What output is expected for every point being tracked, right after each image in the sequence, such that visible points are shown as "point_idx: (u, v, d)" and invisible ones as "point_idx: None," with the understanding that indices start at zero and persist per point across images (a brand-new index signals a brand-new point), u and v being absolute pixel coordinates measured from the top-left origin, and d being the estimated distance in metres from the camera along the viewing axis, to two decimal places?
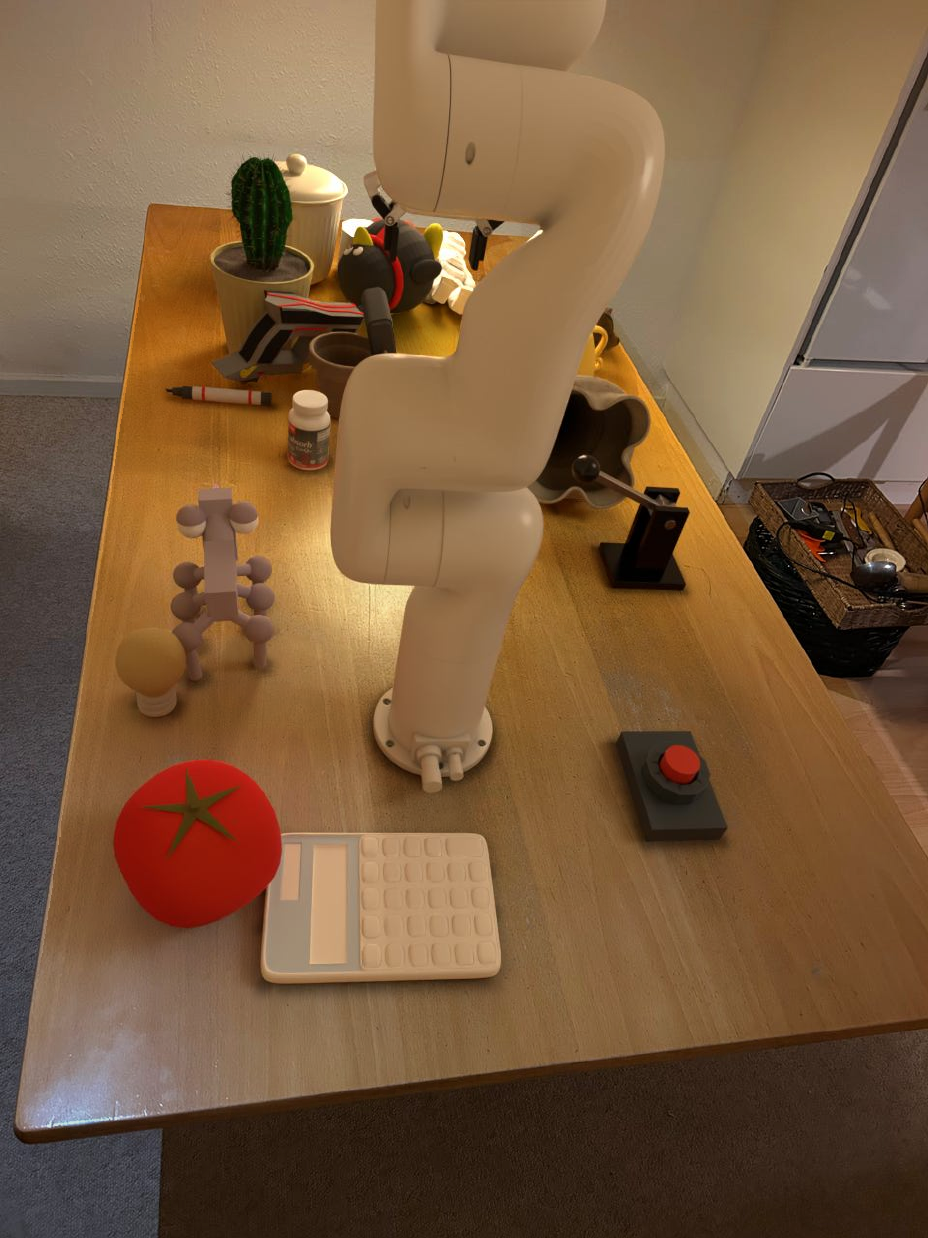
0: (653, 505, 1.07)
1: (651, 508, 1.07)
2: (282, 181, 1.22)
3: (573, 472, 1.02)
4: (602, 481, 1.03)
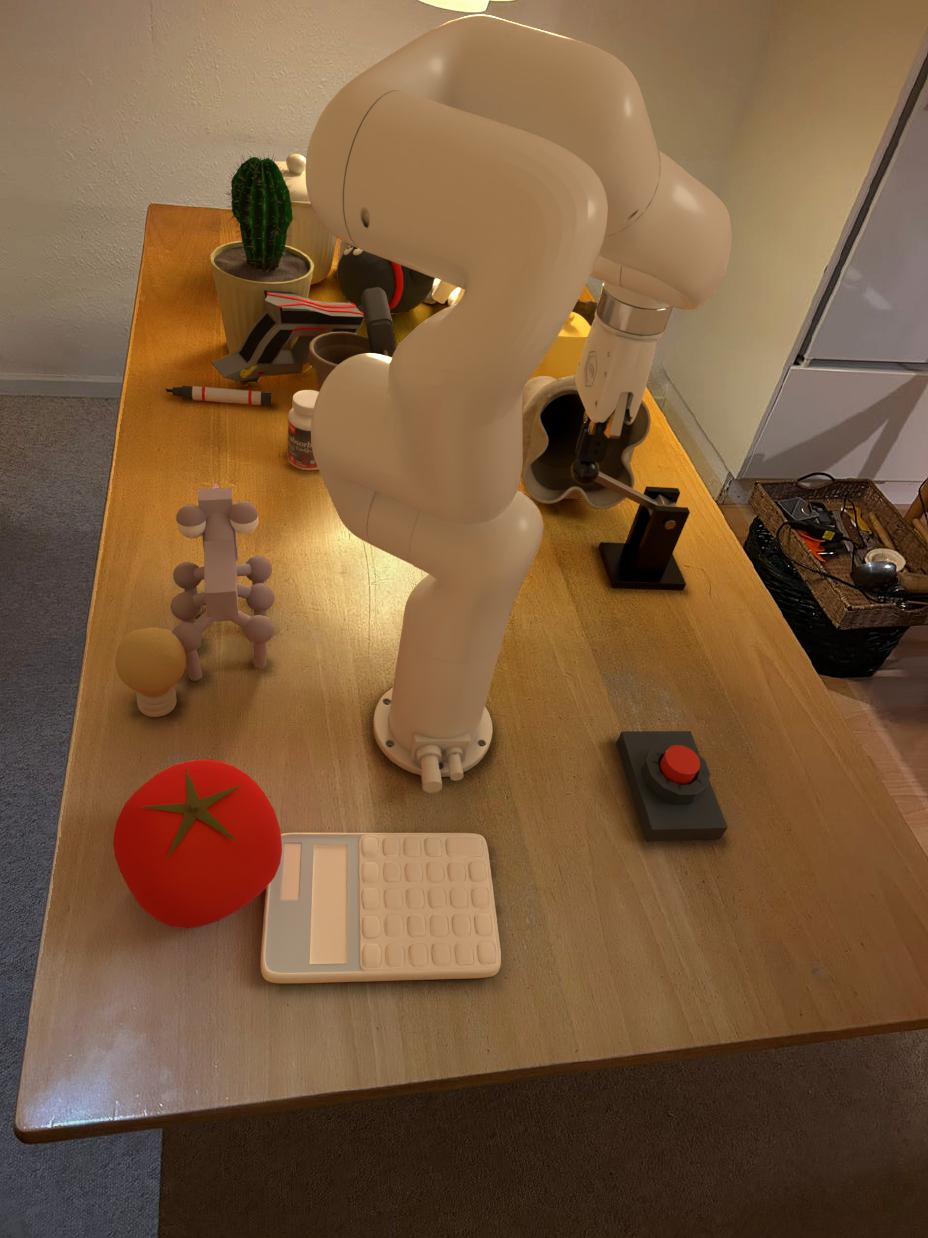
0: (653, 505, 1.07)
1: (651, 508, 1.07)
2: (282, 181, 1.22)
3: (572, 474, 1.02)
4: (601, 482, 1.03)
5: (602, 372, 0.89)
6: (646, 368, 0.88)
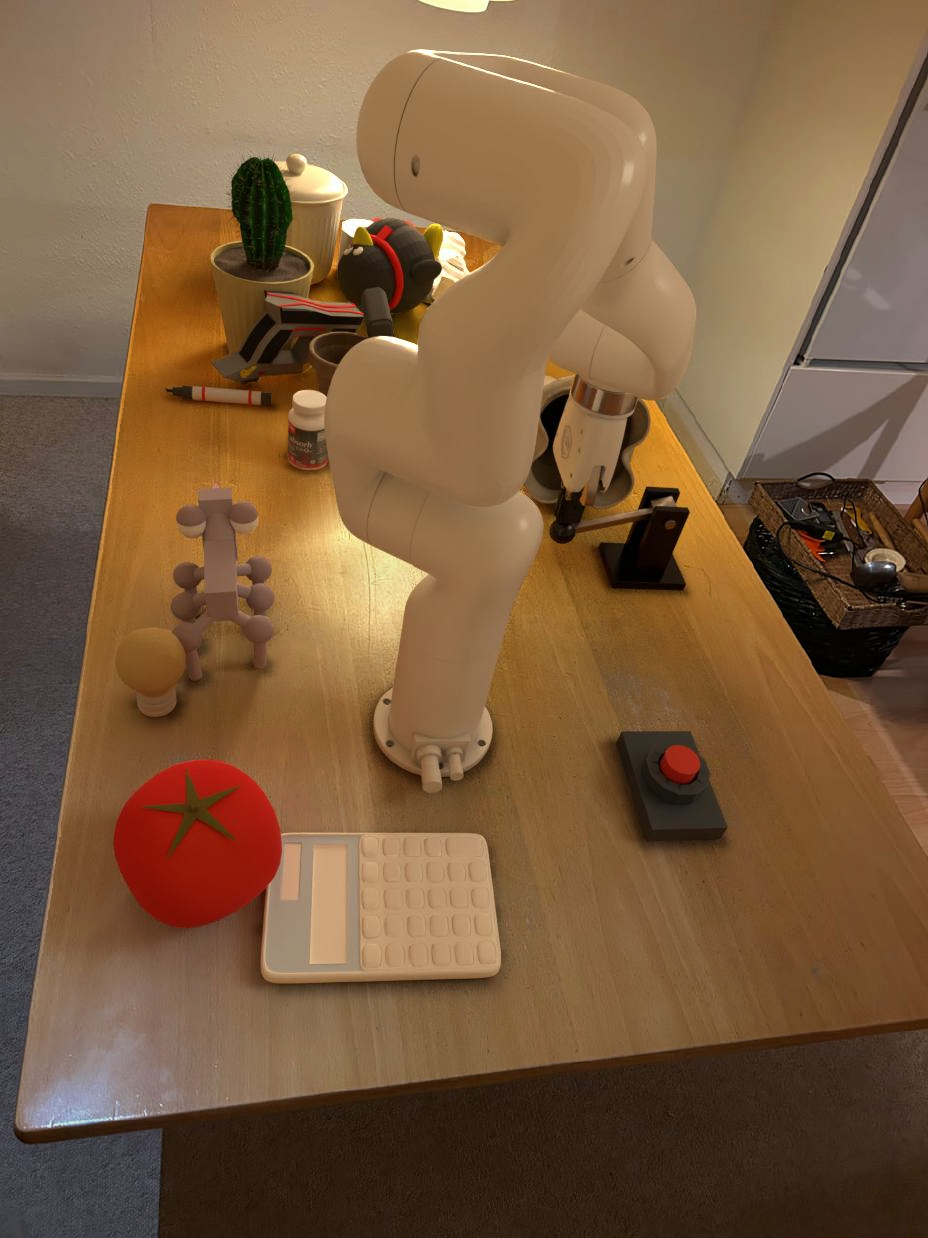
0: (647, 515, 1.08)
1: (648, 518, 1.08)
2: (282, 181, 1.22)
3: (553, 540, 1.09)
4: (583, 530, 1.08)
5: (576, 447, 0.96)
6: (617, 444, 0.95)
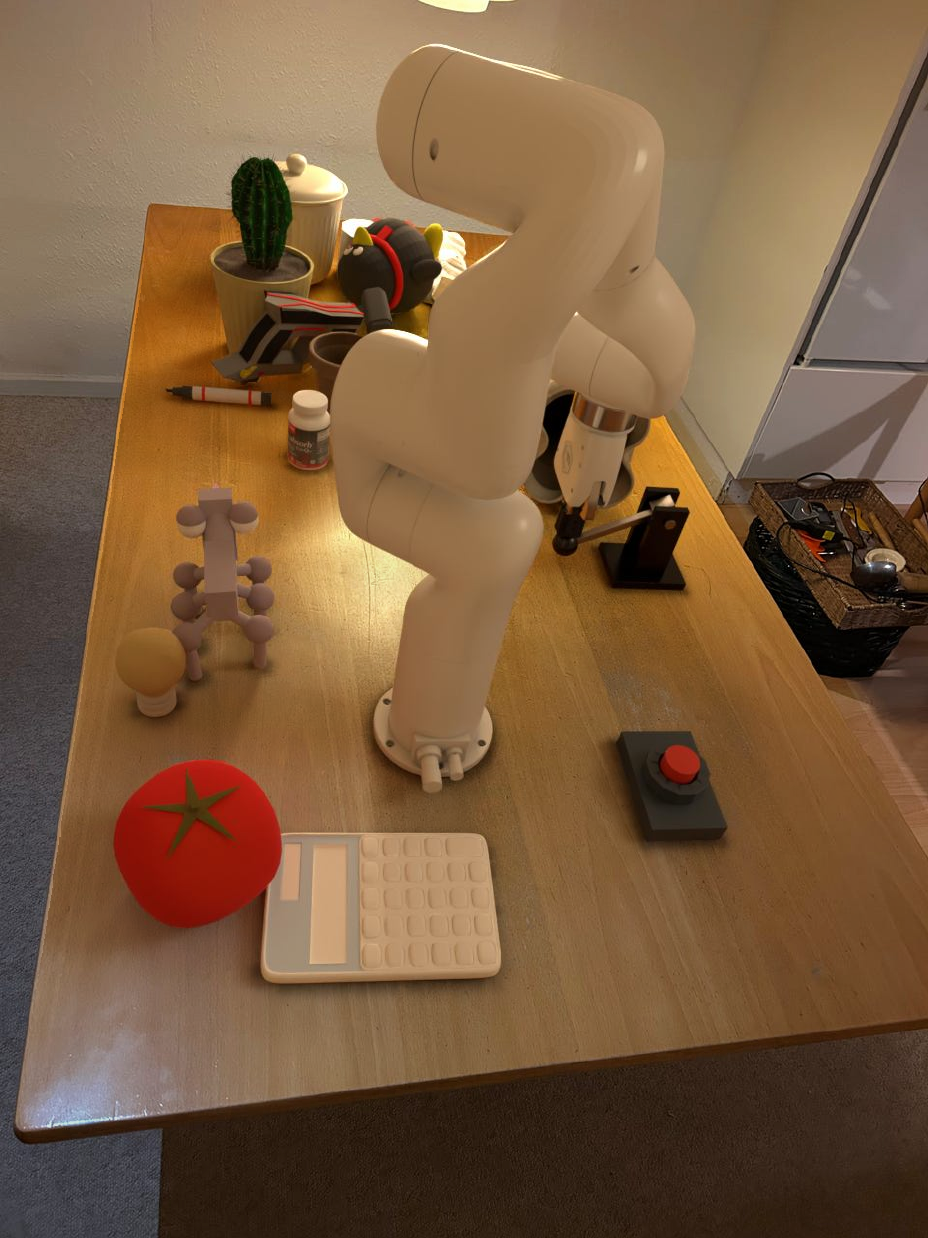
0: (647, 517, 1.08)
1: (649, 519, 1.08)
2: (282, 181, 1.22)
3: None
4: (586, 540, 1.10)
5: (577, 462, 0.97)
6: (617, 460, 0.96)
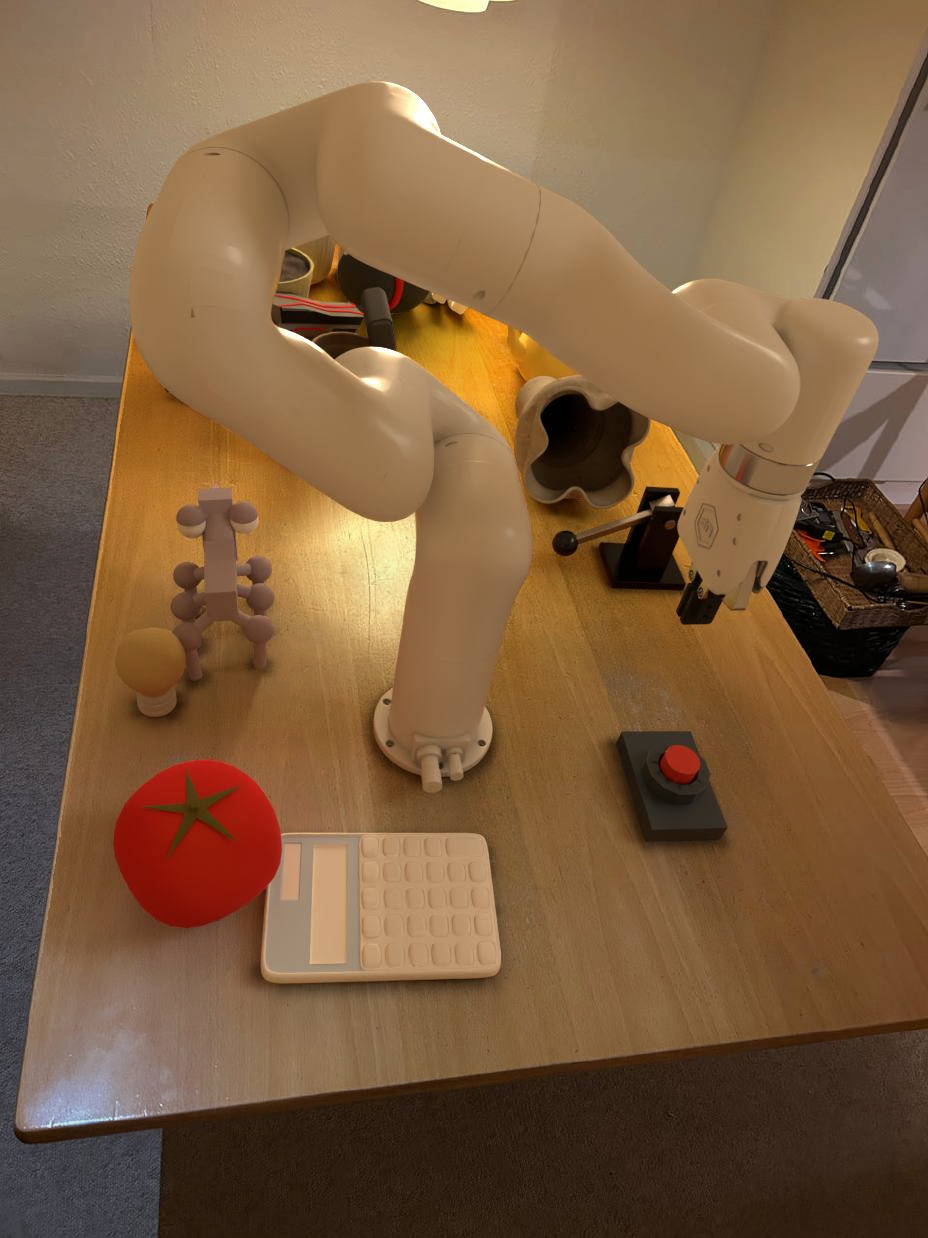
0: (647, 517, 1.08)
1: (649, 519, 1.08)
2: None
3: None
4: (586, 540, 1.10)
5: (729, 536, 0.70)
6: (787, 533, 0.69)
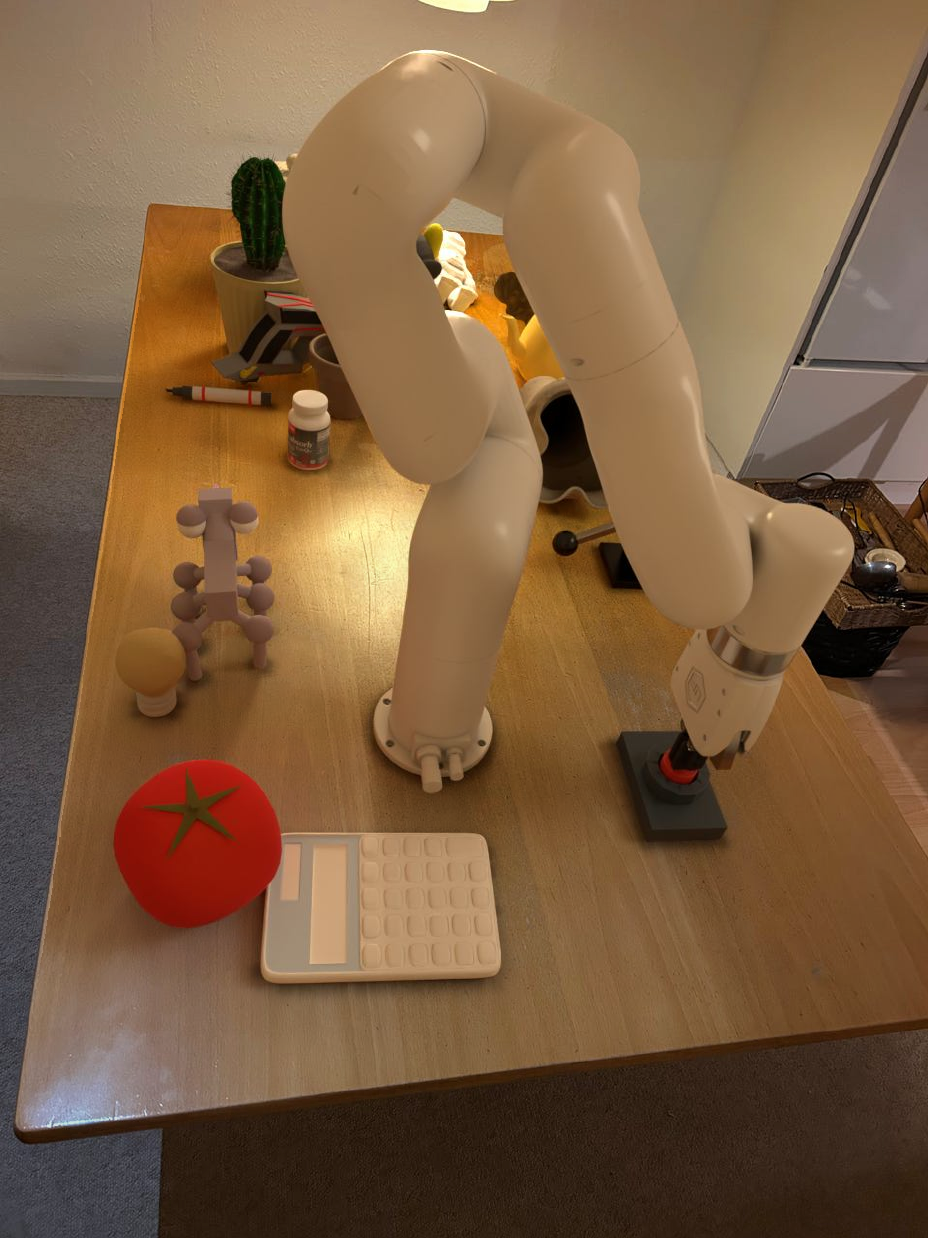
0: None
1: None
2: (282, 181, 1.22)
3: None
4: (586, 540, 1.10)
5: (714, 707, 0.74)
6: (769, 708, 0.73)
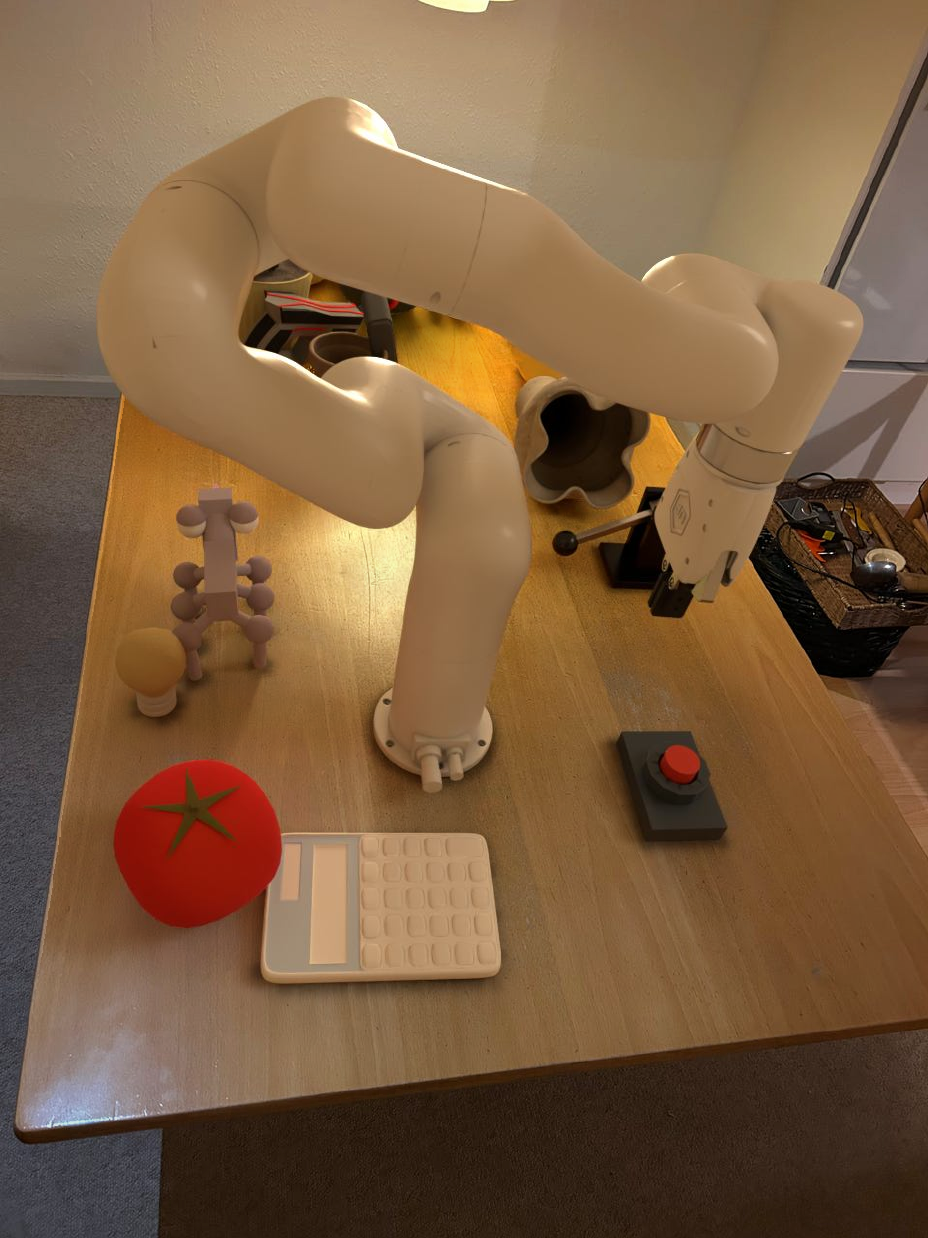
0: (647, 517, 1.08)
1: (649, 519, 1.08)
2: None
3: None
4: (586, 540, 1.10)
5: (699, 523, 0.68)
6: (759, 523, 0.67)
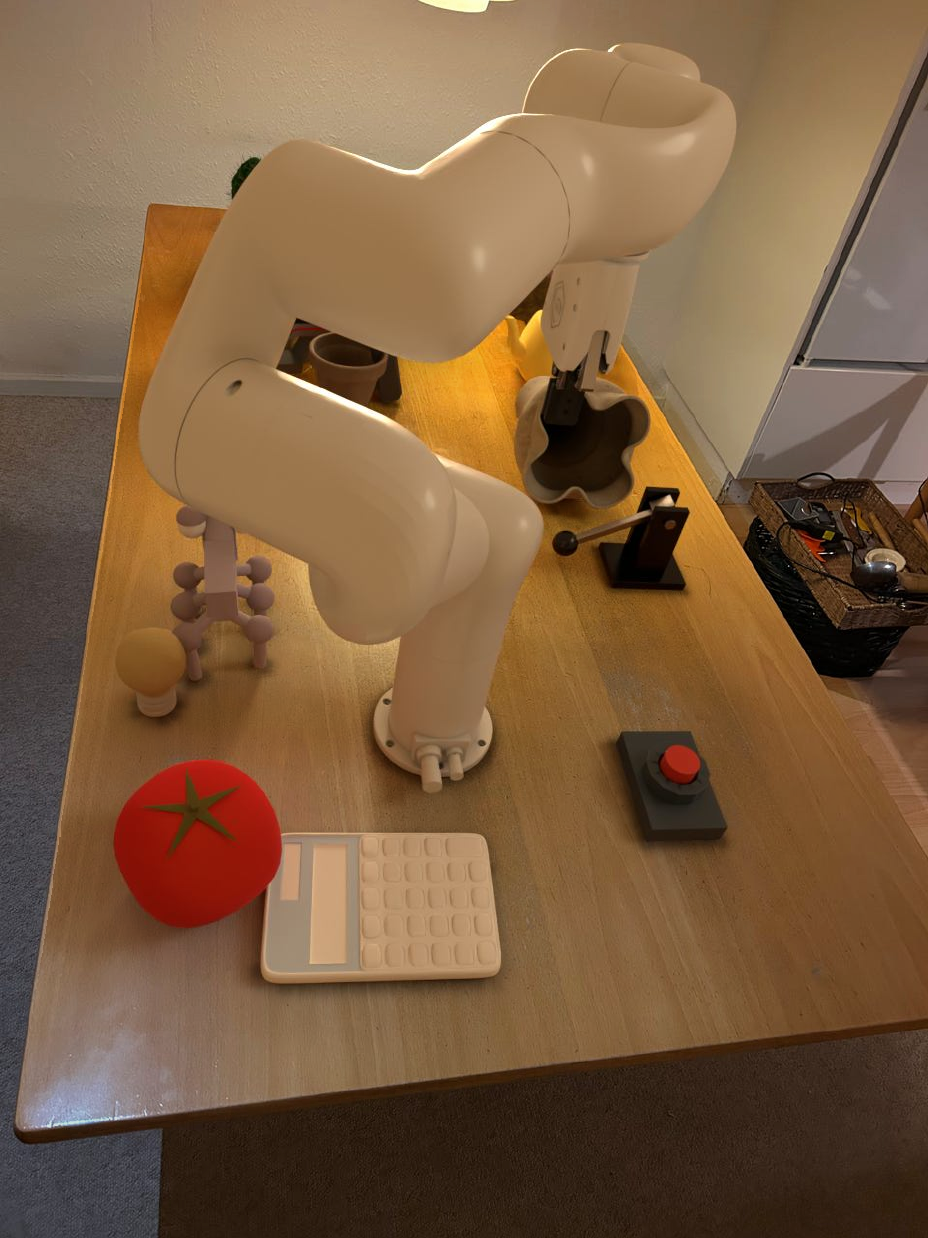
0: (647, 517, 1.08)
1: (649, 519, 1.08)
2: None
3: None
4: (586, 540, 1.10)
5: (571, 305, 0.71)
6: (626, 299, 0.70)
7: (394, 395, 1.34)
